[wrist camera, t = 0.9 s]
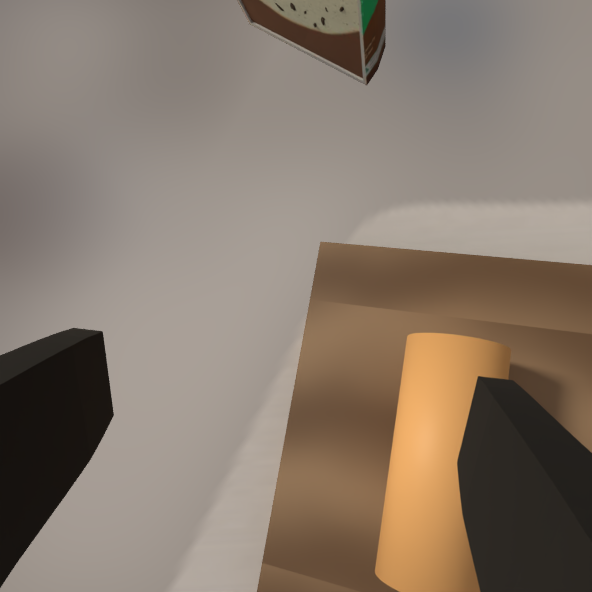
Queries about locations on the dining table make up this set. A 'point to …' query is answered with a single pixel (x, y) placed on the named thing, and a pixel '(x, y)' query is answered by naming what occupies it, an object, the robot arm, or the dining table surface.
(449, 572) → the roller
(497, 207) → the dining table surface
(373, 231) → the dining table surface
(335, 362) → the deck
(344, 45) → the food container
